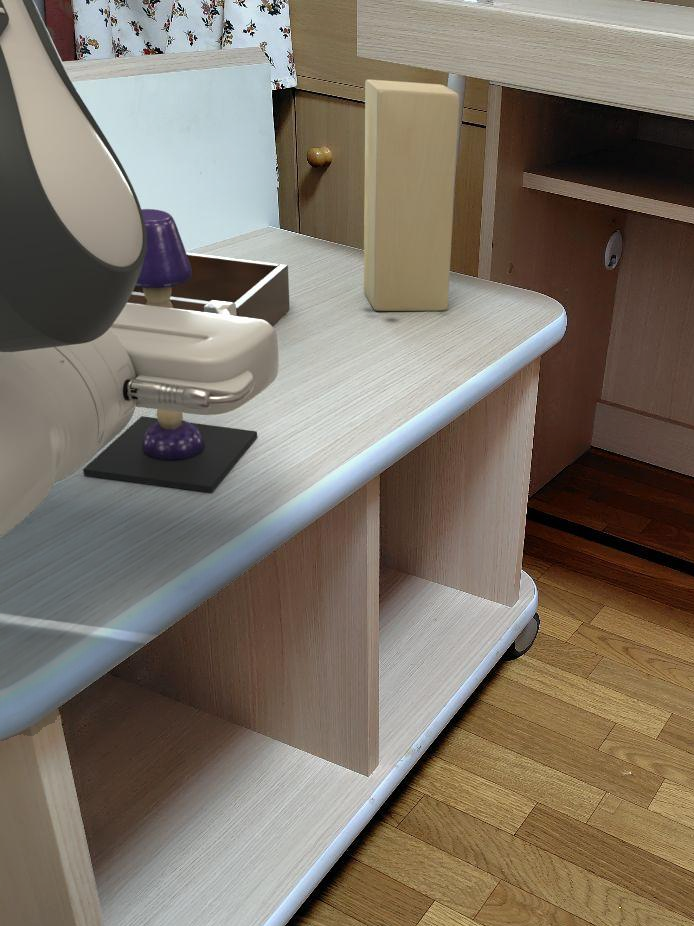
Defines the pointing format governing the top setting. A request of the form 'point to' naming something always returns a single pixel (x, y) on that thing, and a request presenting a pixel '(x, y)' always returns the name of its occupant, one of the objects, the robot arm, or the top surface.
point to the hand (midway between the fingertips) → (155, 303)
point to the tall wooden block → (409, 194)
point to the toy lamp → (157, 277)
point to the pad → (190, 473)
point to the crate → (231, 287)
